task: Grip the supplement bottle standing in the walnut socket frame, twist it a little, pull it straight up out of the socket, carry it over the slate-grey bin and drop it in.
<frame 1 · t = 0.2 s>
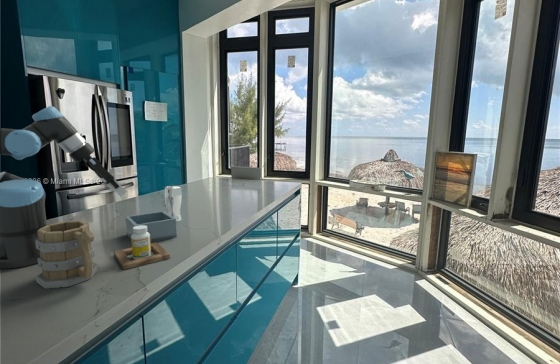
hand: (119, 191, 115), 15 cm above the worktop, tool tilted 35°, fingers open, 13 cm apart
tankard: (75, 280, 77), on the worktop
supplement bottle: (141, 257, 92), resting in socket frame
beer glass: (174, 220, 131), on the worktop
bin: (151, 235, 110), on the worktop
socket frame: (141, 256, 92), on the worktop
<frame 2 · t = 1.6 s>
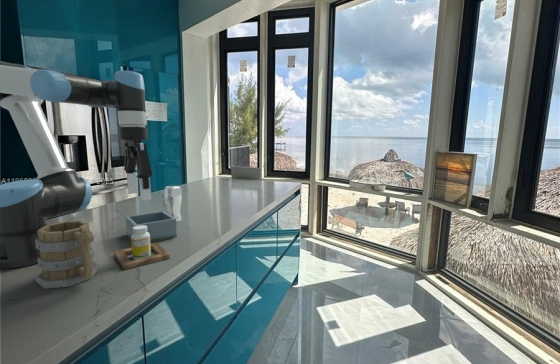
hand: (139, 196, 90), 19 cm above the worktop, tool pointing down, fingers open, 13 cm apart
nothing on the worktop moved.
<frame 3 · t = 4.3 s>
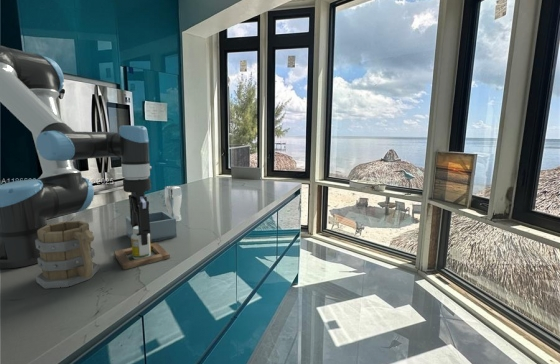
hand: (141, 250, 91), 2 cm above the worktop, tool pointing down, fingers closed on supplement bottle, 5 cm apart
supplement bottle: (142, 257, 92), resting in socket frame, touching gripper
everything else where it was.
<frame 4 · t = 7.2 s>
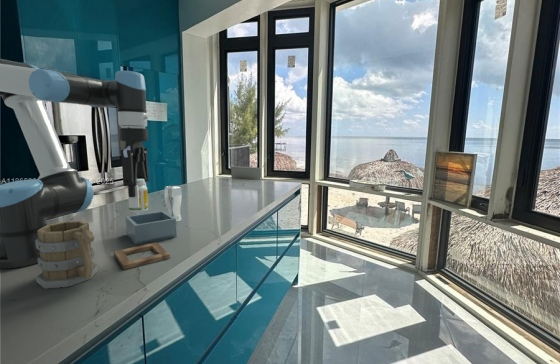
hand: (138, 204, 89), 17 cm above the worktop, tool pointing down, fingers closed on supplement bottle, 5 cm apart
supplement bottle: (139, 211, 89), point 15 cm above the worktop, touching gripper
everything else where it was.
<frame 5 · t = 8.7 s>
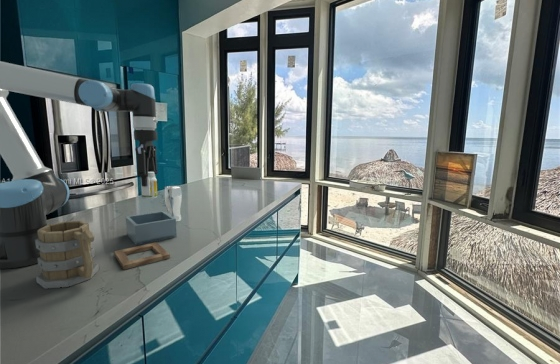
hand: (149, 193, 108), 16 cm above the worktop, tool pointing down, fingers closed on supplement bottle, 5 cm apart
supplement bottle: (149, 198, 108), point 14 cm above the worktop, touching gripper
everything else where it was.
when the fingers open (10 cm above the worktop, at t = 10.2 s): supplement bottle drops 7 cm, resting on bin.
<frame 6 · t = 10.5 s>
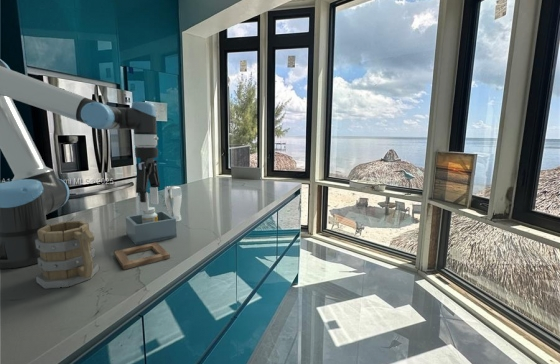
hand: (149, 207, 109), 11 cm above the worktop, tool pointing down, fingers open, 9 cm apart
supplement bottle: (151, 233, 110), point 1 cm above the worktop, touching bin
everything else where it was.
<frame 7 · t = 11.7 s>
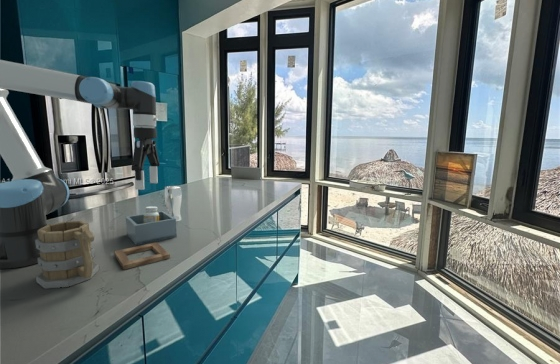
hand: (147, 186, 107), 19 cm above the worktop, tool pointing down, fingers open, 13 cm apart
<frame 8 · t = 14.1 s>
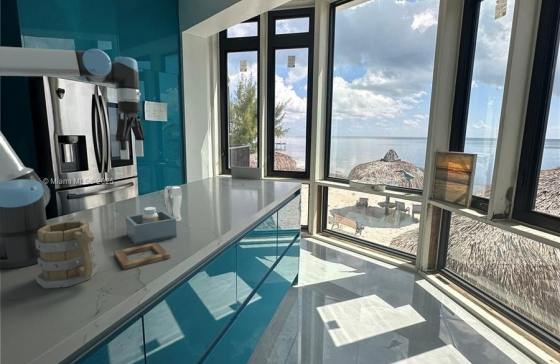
hand: (132, 157, 114), 29 cm above the worktop, tool pointing down, fingers open, 13 cm apart
at the end: supplement bottle inside the target area on the bin (0.1 cm from its centre), point 1.0 cm above the bin's base; the gripper is holding nothing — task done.
